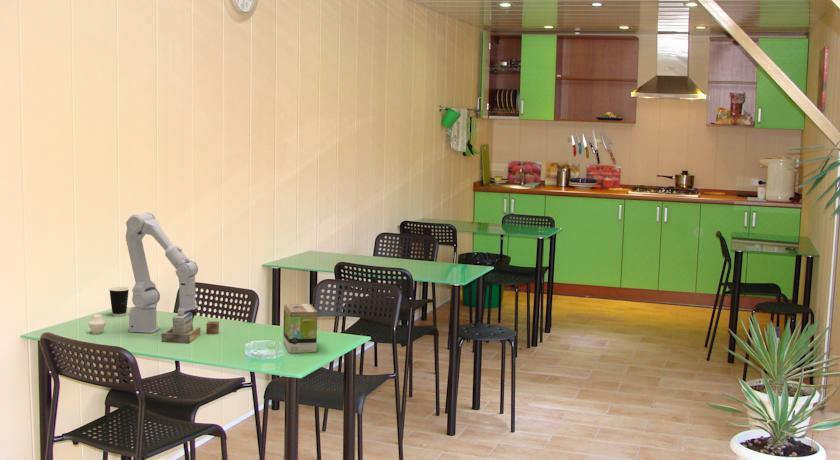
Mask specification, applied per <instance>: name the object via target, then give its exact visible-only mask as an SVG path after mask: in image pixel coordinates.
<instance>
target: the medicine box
mask: <svg viewBox="0 0 840 460" xmlns="http://www.w3.org/2000/svg"><path fill="white" fill-rule="evenodd" d="M193 322H194V318H192V312H185V313H184V315H178V313H177V314H176V315H175V316H173V317H172V327H173V333H176V334H188V333H190V332H191V331H193V330H194V323H193Z"/></svg>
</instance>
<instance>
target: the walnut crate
mask: <svg viewBox="0 0 840 460" xmlns="http://www.w3.org/2000/svg"><path fill="white" fill-rule="evenodd" d="M205 326H206V327H205V329H206V332H205V333H206V335H218V334H219V332H220V321H210V320H209V321H207V322H206V325H205Z"/></svg>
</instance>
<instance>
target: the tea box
mask: <svg viewBox="0 0 840 460" xmlns="http://www.w3.org/2000/svg"><path fill="white" fill-rule="evenodd" d="M317 333H318V311H317V309H316V308H315V307H314V306H313V305H312V304H311V303H287V304H285V303H284V306H283V337H282V338H283V340H282V341H283V345H284V346H285V348H286V350H287V351H288V353H290V354H295V353H296V354H298V353H301V354H303V353H316V352H317V346H318V345H317V344H318V342H317V340H318V334H317Z"/></svg>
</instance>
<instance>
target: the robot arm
mask: <svg viewBox="0 0 840 460" xmlns="http://www.w3.org/2000/svg"><path fill="white" fill-rule="evenodd" d="M125 224H126V231H125V232H126V234H125V242H126V246H127V251H128V254H129V258H130V259H129V260H130V264H131V269H132V273H133V277H134V281H135V282H134V285H133V287H132V298H131V300H132V304H133V305H134V306H132V307H131V308H130V309H129V313H128V325H129V326H128V327H129V328H128V332H129V333H130V332H131V333H146V334H147V333H149V334H153V333H156V332H157V331H159V330H160V329H161V327H160V326H159V327H158V326H157V306H158V303H159V302H160V299H161V293H160V290H159V289H158V288H157V285H156V284H155V282H153V281H152V280H151V276H150V272H149V266H148V263H147V257H146V252H145V249H144V244H143V239H144V238H145V236H146V235H150V236H152V238H153V239H154V240H155V241H156V243H158V244H159V245H160V246H161V247H162V249H163V250H164V251H165V254H164V256H165V257H166V258H167V260H168V261H169V262H170V264H171V265H173V267H174V269H175V275H176V276H177V278H178V283H179V284H178V286H179V288H178V291H179V295H178V296H179V299H178V300H179V306H178V309H177V314H178V315H184V313H185V312H192V318H193V319H194V318H195V316H196V312H197V311H196V310H197V309H199V305H198V302H196V275H197V274H198V271H199V267H198V265H197V263H196V262H195V261H193V260H191V259H190V258H189V257H188V256H187V255H185V253H184V252H183V249H182V247H180V246H178V245H176V244H173V243H172V241H171V240H170V238H169V237H168V236H167V234H166V233H165V232H164V230H163V228H162V227H161V225H160V221H159V220H158V219H157V218H156V216H155V215H154V214H153V213H151V212H145V213H141V214H140V213H139V214H132V215H131V216H130V217H129V218H128V219H127V220H126V221H125ZM195 309H196V310H195Z"/></svg>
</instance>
